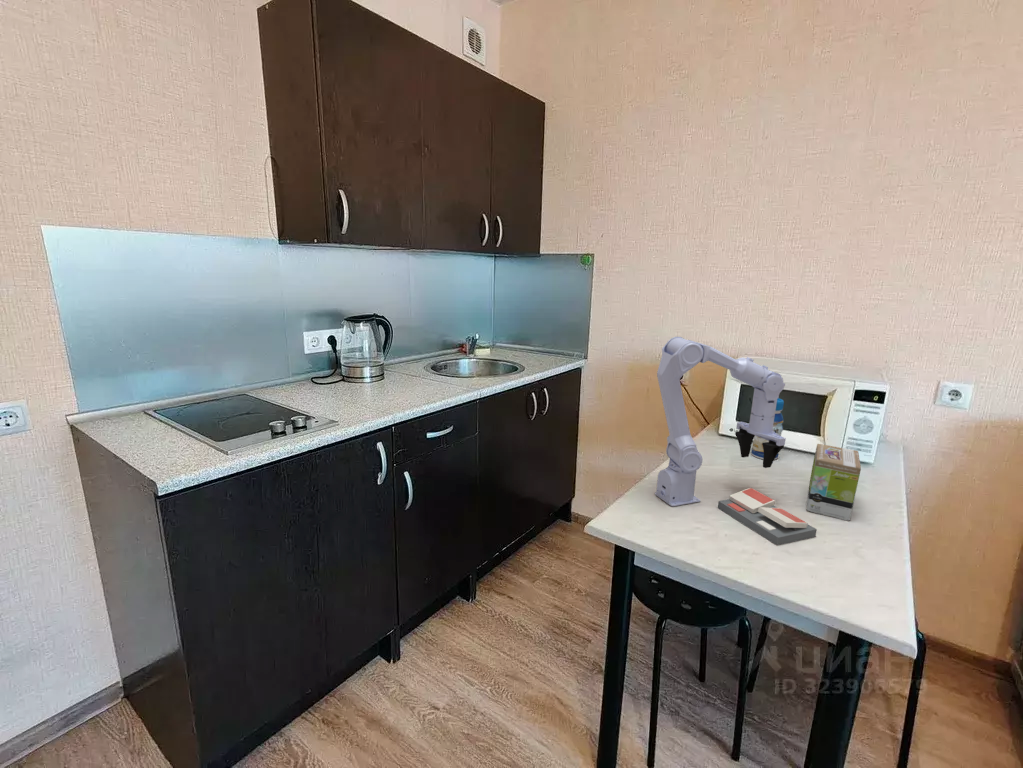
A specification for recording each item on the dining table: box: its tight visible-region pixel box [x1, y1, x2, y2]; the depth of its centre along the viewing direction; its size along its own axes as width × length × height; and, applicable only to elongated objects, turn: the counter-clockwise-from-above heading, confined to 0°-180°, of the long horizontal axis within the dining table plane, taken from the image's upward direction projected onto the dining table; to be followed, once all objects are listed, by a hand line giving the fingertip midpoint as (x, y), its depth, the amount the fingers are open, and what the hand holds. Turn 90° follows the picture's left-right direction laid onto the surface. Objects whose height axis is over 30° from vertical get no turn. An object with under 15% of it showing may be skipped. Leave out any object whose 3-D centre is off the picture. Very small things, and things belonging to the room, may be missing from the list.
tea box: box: [806, 443, 862, 522], centre depth 133 cm, size 15×10×15 cm
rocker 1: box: [728, 487, 776, 514], centre depth 129 cm, size 7×8×1 cm
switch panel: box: [717, 498, 818, 546], centre depth 125 cm, size 12×19×3 cm, turn 20°
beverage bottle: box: [750, 397, 785, 461], centre depth 166 cm, size 8×8×20 cm
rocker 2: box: [758, 507, 809, 528], centre depth 120 cm, size 7×8×1 cm
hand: (755, 461), depth 137 cm, fingers open, 7 cm apart
